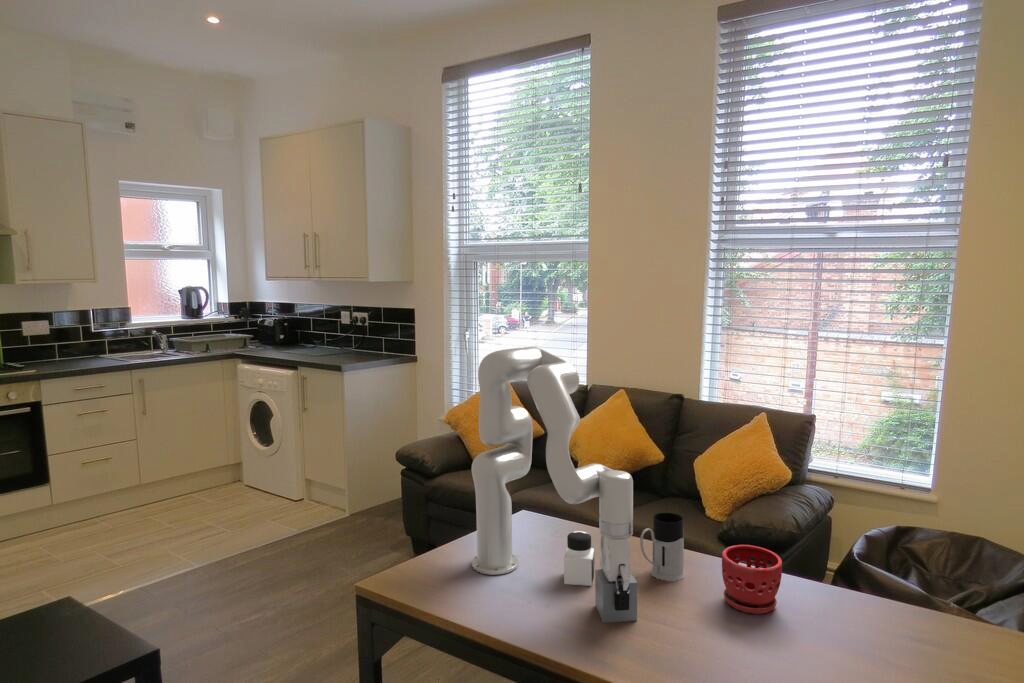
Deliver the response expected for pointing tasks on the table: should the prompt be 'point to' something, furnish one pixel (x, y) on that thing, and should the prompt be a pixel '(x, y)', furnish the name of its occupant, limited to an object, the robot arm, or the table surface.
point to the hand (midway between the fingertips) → (616, 599)
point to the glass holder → (667, 546)
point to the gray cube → (607, 599)
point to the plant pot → (751, 578)
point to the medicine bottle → (579, 559)
